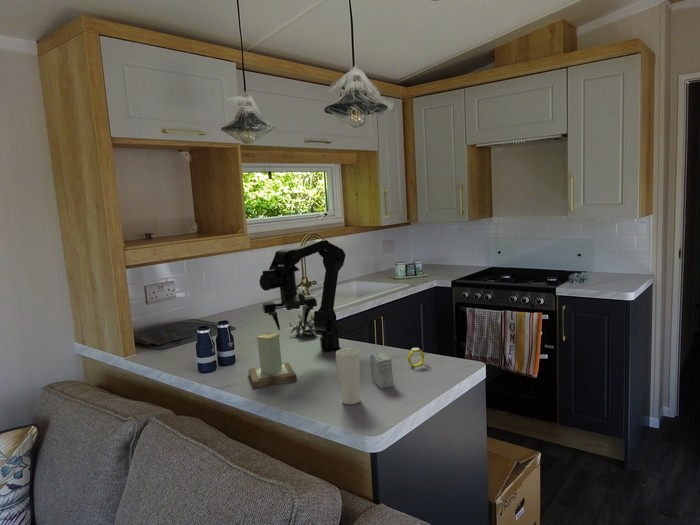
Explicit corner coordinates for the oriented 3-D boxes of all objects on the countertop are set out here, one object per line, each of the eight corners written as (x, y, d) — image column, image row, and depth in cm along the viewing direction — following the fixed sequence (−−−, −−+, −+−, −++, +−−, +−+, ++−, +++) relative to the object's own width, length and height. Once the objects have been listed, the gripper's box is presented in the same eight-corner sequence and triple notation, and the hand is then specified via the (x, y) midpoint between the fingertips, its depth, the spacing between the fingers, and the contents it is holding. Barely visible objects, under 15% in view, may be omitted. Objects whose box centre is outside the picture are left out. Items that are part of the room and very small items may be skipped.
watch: (412, 369, 176) (410, 352, 175) (407, 367, 179) (405, 350, 178) (426, 364, 179) (424, 347, 178) (421, 362, 182) (419, 345, 181)
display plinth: (288, 367, 187) (288, 361, 186) (296, 380, 173) (296, 373, 173) (249, 374, 183) (248, 368, 183) (253, 388, 170) (253, 381, 169)
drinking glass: (336, 405, 151) (331, 354, 149) (344, 396, 157) (340, 347, 155) (358, 407, 148) (354, 355, 146) (366, 397, 155) (362, 348, 153)
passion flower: (314, 347, 228) (321, 328, 221) (289, 346, 224) (295, 327, 217) (310, 327, 236) (316, 308, 229) (286, 327, 233) (292, 307, 226)
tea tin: (271, 367, 182) (267, 332, 180) (282, 369, 179) (279, 333, 177) (260, 372, 177) (256, 336, 176) (272, 374, 174) (268, 338, 173)
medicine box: (393, 386, 162) (392, 359, 161) (380, 389, 161) (378, 361, 159) (384, 378, 169) (383, 352, 168) (371, 380, 168) (369, 354, 167)
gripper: (264, 292, 177) (269, 337, 179) (318, 285, 182) (322, 329, 185) (260, 287, 188) (264, 330, 190) (311, 280, 193) (315, 322, 195)
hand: (291, 328), depth 190 cm, fingers open, 9 cm apart
